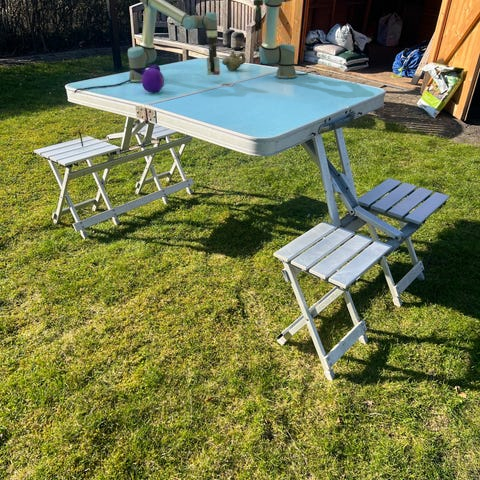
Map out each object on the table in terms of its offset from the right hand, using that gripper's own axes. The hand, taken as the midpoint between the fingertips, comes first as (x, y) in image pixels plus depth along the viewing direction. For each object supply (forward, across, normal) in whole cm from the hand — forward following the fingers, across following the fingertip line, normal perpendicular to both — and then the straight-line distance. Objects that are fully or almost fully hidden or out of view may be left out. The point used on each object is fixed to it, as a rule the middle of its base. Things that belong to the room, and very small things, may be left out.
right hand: (258, 30), depth 357 cm
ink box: (+25, +52, -25) cm, 63 cm away
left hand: (+23, +52, -25) cm, 62 cm away
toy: (+30, +89, -60) cm, 111 cm away
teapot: (+30, +6, -19) cm, 36 cm away
